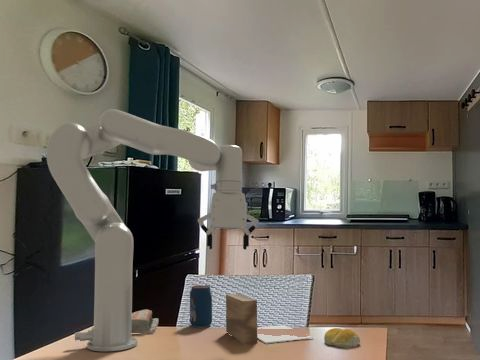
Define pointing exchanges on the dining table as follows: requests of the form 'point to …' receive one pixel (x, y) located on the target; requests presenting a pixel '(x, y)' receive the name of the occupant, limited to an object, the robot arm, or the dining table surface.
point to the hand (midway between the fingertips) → (227, 249)
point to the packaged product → (143, 322)
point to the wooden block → (241, 318)
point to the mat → (274, 339)
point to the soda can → (200, 306)
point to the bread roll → (341, 338)
